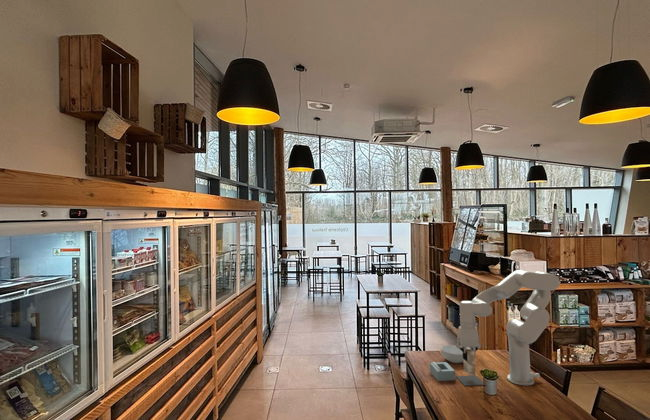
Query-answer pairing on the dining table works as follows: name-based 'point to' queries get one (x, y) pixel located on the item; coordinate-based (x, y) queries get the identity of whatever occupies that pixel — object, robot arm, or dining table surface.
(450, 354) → the cereal bowl
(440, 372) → the dispenser
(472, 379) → the mat
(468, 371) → the cream tall block
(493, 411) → the dining table surface
